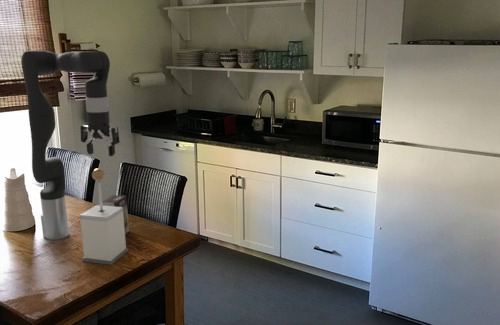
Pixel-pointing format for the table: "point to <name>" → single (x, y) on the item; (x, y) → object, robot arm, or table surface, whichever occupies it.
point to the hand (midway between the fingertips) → (101, 154)
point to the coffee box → (119, 202)
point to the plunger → (99, 183)
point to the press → (103, 234)
